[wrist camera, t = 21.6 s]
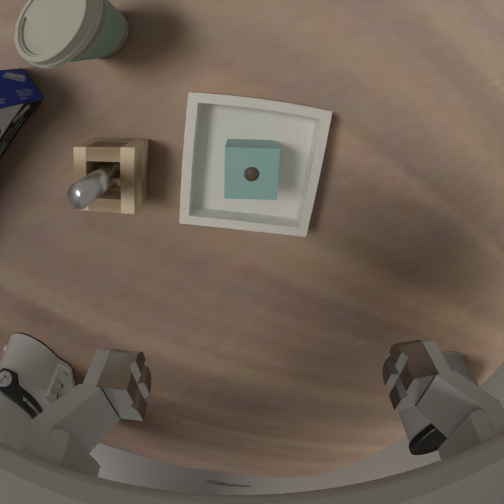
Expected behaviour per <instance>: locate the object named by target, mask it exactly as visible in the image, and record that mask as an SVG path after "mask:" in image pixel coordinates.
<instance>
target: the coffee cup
mask: <svg viewBox="0 0 504 504" xmlns="http://www.w3.org/2000/svg"><path fill="white" fill-rule="evenodd" d="M128 34H129V24H128V21H127V19H126V18H125V17H124V16H123V15H122V14H121V13H120V12H119V11H118V10H117V9H116V8H115V7H114V6H113V5H112V4H111V3H110V2H109V1H107V0H29V1H28V2H27V3H26V5H25V6H24V8H23V9H22V11H21V13H20V15H19V18H18V20H17V23H16V28H15V45H16V48H17V50H18V52H19V54H20V55H21V56H22V57H23V58H24V59H26V60H27V61H28V62H29V63H31V64H32V65H35V66H38V67H41V68H55V67H59V66H61V65H64V64H66V63H67V62H73V61H80V60H87V59H96V58H104V57H108V56H110V55H112V54H114V53H116V52H117V51H118V50H119V49H120V48H121V47H122V46H123V45H124V43H125V41H126V39H127V37H128Z"/></svg>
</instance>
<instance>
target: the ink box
mask: <svg viewBox="0 0 504 504" xmlns="http://www.w3.org/2000/svg"><path fill="white" fill-rule="evenodd" d="M41 100H42V96H41V95H40V93H39V92H38V90H37V89H36V87H35V85H34V84H33V82H32V81H31V79H30V78H29V76H28V75H27V73H26V72H25V71H24V69H23V68H21V69H9V70H0V158H1V156H2V155H3V153H4V152H5V151H6V149H7V147H8V146H9V144H10V142H11V141H12V139H13V138H14V136H15V135H16V134H17V132H18V131H19V129H20V128H21V127H22V125H23V124H24V123H25V121H26V120H27V118H28V117H29V116H30V115H31V114H32V112H33V111H34V110H35V109H36V107H37V106H38V105H39V103H40V102H41Z"/></svg>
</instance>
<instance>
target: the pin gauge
mask: <svg viewBox="0 0 504 504" xmlns="http://www.w3.org/2000/svg"><path fill="white" fill-rule="evenodd" d="M119 180H120V162H109V163H107V164H105V165H104V166H102V167H100V168H99V169H97V170H95V171H93V172H92V173H90V174H89V175H87V176H85V177H84V178H82V179H80V180H79V181H77V182H76V183H74V184H72V185H71V186H70V187H69V189H68V192H67V198H68V201H69V203H70V204H71V206H72V207H74V208H75V209H79V210H81V209H84V208H86V207H87V206H88V205H89V204H91V203H92V202H93V201H94V200H95V199H97V198H98V197H99V196H100V195H102V194H103V193H104V192H105V191H107V190H108V189H109V188H110V187H112V186H113V185H114V184H115V183H117V182H118V181H119Z"/></svg>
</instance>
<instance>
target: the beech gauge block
mask: <svg viewBox="0 0 504 504" xmlns="http://www.w3.org/2000/svg"><path fill="white" fill-rule="evenodd" d="M73 148H74V175H75V183H76V182H77V181H79V180H80V179H82V178H84V177H85V176H87V175H89V174H90V173H92V172H93V171H95V170H97V169H99V168H100V167H102V166H104V165H105V164H107V163H109V162H120V180H119V181H118V182H117V183H115V184H114V185H113V186H112V187H110V188H109V189H108V190H107V191H105V192H104V193H103V194H102V195H100V196H99V197H98V198H97V199H95V200H94V201H93V202H92V203H91V204H89V205H88V206H87V207H86V208H84V209H81V210H88V211H101V212H113V213H125V214H135V213H136V212H137V210H138V209H139V208H140V207H141V205H142V204H143V203H144V202H145V200H146V199H147V198H148V157H149V139H134V138H93V139H91V140H88V141H86V142H84V143H81V144H79V145H77V146H75V147H73ZM77 210H79V209H77Z"/></svg>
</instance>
